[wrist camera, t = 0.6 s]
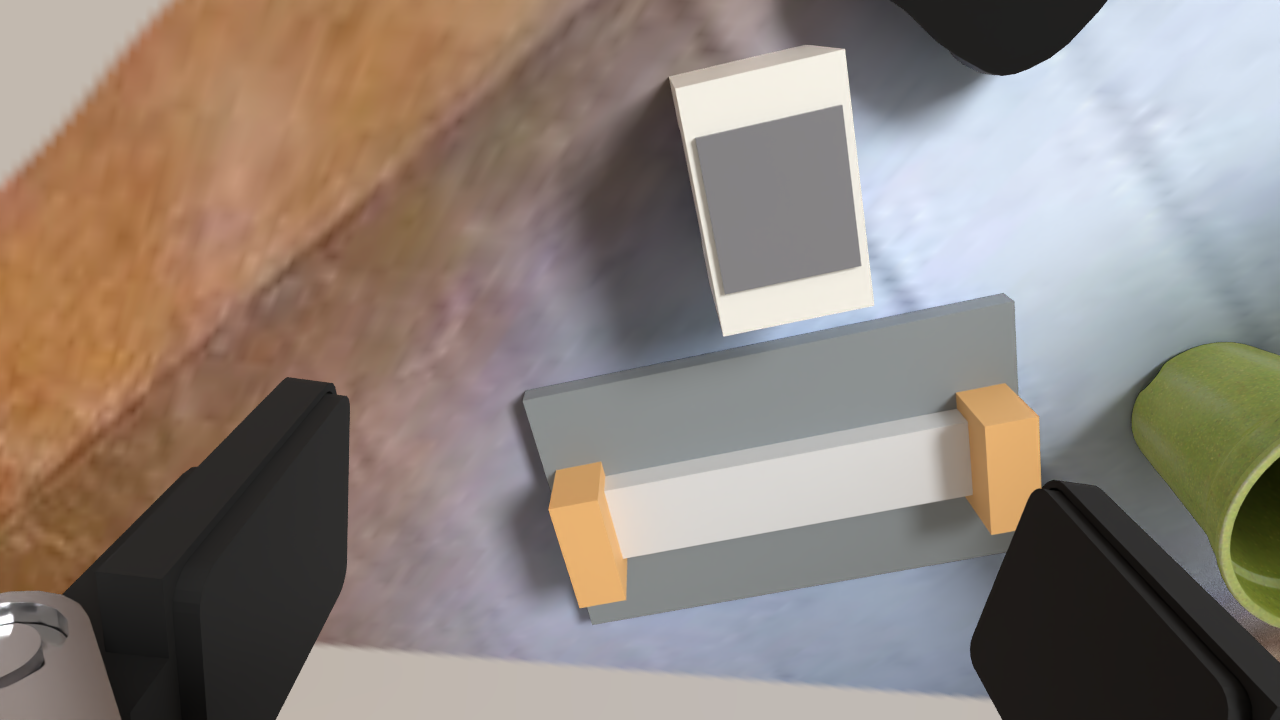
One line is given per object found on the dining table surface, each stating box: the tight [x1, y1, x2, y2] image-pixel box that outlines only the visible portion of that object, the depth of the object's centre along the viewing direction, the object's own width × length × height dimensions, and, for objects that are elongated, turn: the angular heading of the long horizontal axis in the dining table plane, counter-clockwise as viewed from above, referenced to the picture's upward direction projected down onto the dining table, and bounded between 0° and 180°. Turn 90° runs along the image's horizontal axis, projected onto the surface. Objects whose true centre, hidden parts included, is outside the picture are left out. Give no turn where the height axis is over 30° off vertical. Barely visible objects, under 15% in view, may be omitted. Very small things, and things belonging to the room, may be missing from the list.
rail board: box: [523, 293, 1041, 625], centre depth 33 cm, size 20×12×4 cm, turn 103°
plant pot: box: [1132, 342, 1280, 628], centre depth 30 cm, size 9×9×9 cm
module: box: [669, 45, 874, 337], centre depth 27 cm, size 5×8×6 cm, turn 13°
